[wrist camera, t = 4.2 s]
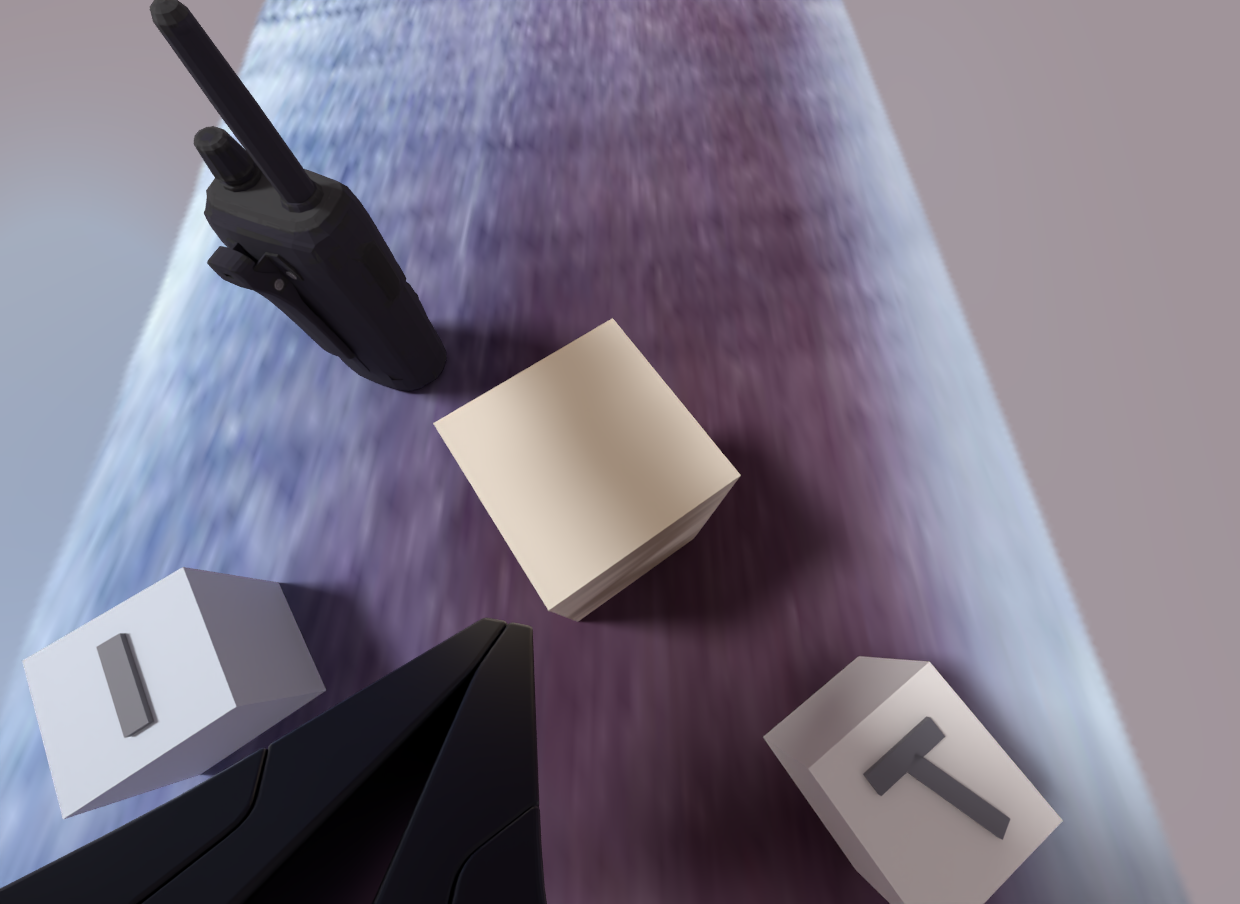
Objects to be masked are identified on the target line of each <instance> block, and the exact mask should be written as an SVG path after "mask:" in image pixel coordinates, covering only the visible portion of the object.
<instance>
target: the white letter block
mask: <svg viewBox="0 0 1240 904" xmlns="http://www.w3.org/2000/svg"><path fill="white" fill-rule="evenodd" d="M763 738H764V739H765V741H766V742H767V744H768V745H769V747H770V748H771V749H772V751H773V752H774V754H775V755H776V757H777V758H778V759H779V761H780V762H781V764H782V765H783V767H784V768H785V769H786V771H787V772H788V774H789V775H790V777H791V778H792V779H793V781H794V782H795V784H796V785H797V787H798V788H799V789H800V791H801V792H802V794H803V795H804V797H805V798H806V800H807V801H808V802H809V804H810V805H811V807H812V808H813V810H814V811H815V812H816V814H817V815H818V817H819V818H820V820H821V821H822V822H823V824H824V825H825V827H826V828H827V830H828V831H829V832H830V834H831V835H832V837H833V838H834V840H835V841H836V842H837V844H838V845H839V847H840V848H841V850H842V851H843V852H844V854H845V855H846V857H847V858H848V860H849V861H850V863H851V864H852V865H853V867H854V868H855V870H856V871H857V872H858V873H859V874H860V875H861V876H862V877H863V878H865V879H866V880H867V881H868V882H869V883H870V884H871V885H872V886H873V887H874V888H875V889H876V890H877V891H878V892H879V893H880V894H881V895H882V896H883V897H884V898H885V899H886V900H887V901H888V902H889V903H890V904H984V903H985V902H986V901H987V900H988V899H989V898H990V897H991V896H992V895H993V894H994V893H995V891H996V890H997V889H998V888H999V887H1000V886H1001V885H1002V884H1003V883H1004V882H1005V881H1006V880H1007V879H1008V878H1009V877H1010V876H1011V875H1012V874H1013V873H1014V872H1015V870H1016V869H1017V868H1018V867H1019V866H1020V865H1021V864H1022V863H1023V862H1024V861H1025V860H1026V859H1027V858H1028V857H1029V856H1030V855H1031V854H1032V853H1033V852H1034V851H1035V850H1036V848H1037V847H1038V846H1039V845H1040V844H1041V843H1042V842H1043V841H1044V840H1045V839H1046V838H1047V837H1048V836H1049V835H1050V834H1051V833H1052V832H1053V831H1054V830H1055V829H1056V827H1057V826H1058V825H1059V824H1060V823H1061V822H1062V821H1063V820H1062V819H1061V818H1060V817H1059V815H1058V814H1057V813H1056V812H1055V811H1054V809H1053V808H1052V807H1051V806H1050V805H1049V804H1048V802H1047V801H1046V800H1045V799H1044V798H1043V796H1042V795H1041V794H1040V793H1039V792H1038V790H1037V789H1036V788H1035V787H1034V786H1033V784H1032V783H1031V782H1030V781H1029V780H1028V779H1027V777H1026V776H1025V775H1024V774H1023V773H1022V771H1021V770H1020V769H1019V768H1018V767H1017V765H1016V764H1015V763H1014V762H1013V761H1012V759H1011V758H1010V757H1009V756H1008V755H1007V753H1006V752H1005V751H1004V750H1003V749H1002V748H1001V746H1000V745H999V744H998V743H997V742H996V740H995V739H994V738H993V737H992V736H991V734H990V733H989V732H988V731H987V730H986V728H985V727H984V726H983V725H982V724H981V722H980V721H979V720H978V719H977V718H976V717H975V715H974V714H973V713H972V712H971V711H970V709H969V708H968V707H967V706H966V705H965V703H964V702H963V701H962V700H961V699H960V697H959V696H958V695H957V694H956V693H955V692H954V690H953V689H952V688H951V687H950V686H949V684H948V683H947V682H946V681H945V680H944V678H943V677H942V676H941V675H940V674H939V672H938V671H937V670H936V669H935V668H934V666H933V665H932V664H931V663H930V662H927V661H914V660H901V659H888V658H875V657H862V656H858V657H857V658H856V659H855V660H854V661H852V662H851V663H850V664H849V665H848V666H846V667H845V668H844V669H843V670H842V671H841V672H839V673H838V674H837V675H836V676H835V677H833V678H832V679H831V680H830V681H829V682H827V683H826V684H825V685H824V686H823V687H822V688H820V689H819V690H818V691H817V692H816V693H814V694H813V695H812V696H811V697H810V698H809V699H807V700H806V701H805V702H804V703H803V704H801V705H800V706H799V707H798V708H797V709H796V710H794V711H793V712H792V713H791V714H790V715H788V716H787V717H786V718H785V719H784V720H783V721H781V722H780V723H779V724H778V725H777V726H775V727H774V728H773V729H772V730H771V731H769V732H768V733H767V734H766V735H765V736H764V737H763Z"/></svg>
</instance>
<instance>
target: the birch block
mask: <svg viewBox="0 0 1240 904" xmlns="http://www.w3.org/2000/svg"><path fill="white" fill-rule="evenodd" d="M433 424H434V425H435V427H436V429H437V430H438V432H439V433H440V435H441V437H442V438H443V440H444V442H445V443H446V445H447V446H448V448H449V450H450V451H451V453H452V455H453V456H454V458H455V459H456V461H457V463H458V464H459V466H460V468H461V469H462V471H463V472H464V474H465V476H466V477H467V479H468V481H469V482H470V484H471V485H472V487H473V489H474V490H475V492H476V494H477V495H478V497H479V498H480V500H481V502H482V503H483V505H484V506H485V508H486V510H487V511H488V513H489V515H490V516H491V518H492V519H493V521H494V523H495V524H496V526H497V528H498V529H499V531H500V532H501V534H502V536H503V537H504V539H505V541H506V542H507V544H508V545H509V547H510V549H511V550H512V552H513V554H514V555H515V557H516V558H517V560H518V562H519V563H520V565H521V567H522V568H523V570H524V571H525V573H526V575H527V576H528V578H529V580H530V581H531V583H532V584H533V586H534V588H535V589H536V591H537V593H538V594H539V596H540V597H541V599H542V601H543V602H544V604H545V606H546V607H547V609H548V610H549V611H551V612H554V613H556V614H559V615H562V616H564V617H567V618H570V619H572V620H575V621H580V620H581V619H582V618H584V617H585V616H587V615H588V614H589V613H591V612H592V611H594V610H595V609H596V608H598V607H599V606H601V605H602V604H603V603H605V602H606V601H608V600H609V599H610V598H612V597H613V596H614V595H616V594H617V593H619V592H620V591H621V590H623V589H624V588H626V587H627V586H628V585H630V584H631V583H633V582H634V581H635V580H637V579H638V578H640V577H641V576H642V575H644V574H645V573H647V572H648V571H649V570H651V569H652V568H653V567H655V566H656V565H658V564H659V563H660V562H662V561H663V560H665V559H666V558H667V557H669V556H670V555H672V554H673V553H674V552H676V551H677V550H679V549H680V548H681V547H683V546H684V545H685V544H687V543H688V542H690V541H691V540H692V539H694V538H695V536H696V535H697V534H698V532H699V531H700V530H701V528H702V527H703V526H704V524H705V523H706V522H707V520H708V519H709V518H710V516H711V515H712V514H713V512H714V511H715V509H716V508H717V507H718V505H719V504H720V503H721V501H722V500H723V499H724V497H725V496H726V495H727V493H728V492H729V491H730V489H731V488H732V487H733V485H734V484H735V482H736V481H737V480H738V478H739V477H740V476H741V475H740V474H739V473H738V471H737V470H736V469H735V468H734V466H733V465H732V464H731V463H730V462H729V460H728V459H727V458H726V457H725V455H724V454H723V453H722V452H721V451H720V449H719V448H718V447H717V446H716V444H715V443H714V442H713V441H712V439H711V438H710V437H709V436H708V435H707V433H706V432H705V431H704V430H703V428H702V427H701V426H700V425H699V424H698V422H697V421H696V420H695V419H694V417H693V416H692V415H691V414H690V413H689V411H688V410H687V409H686V408H685V406H684V405H683V404H682V403H681V402H680V400H679V399H678V398H677V397H676V395H675V394H674V393H673V392H672V390H671V389H670V388H669V387H668V386H667V384H666V383H665V382H664V381H663V379H662V378H661V377H660V376H659V375H658V373H657V372H656V371H655V370H654V368H653V367H652V366H651V365H650V364H649V362H648V361H647V360H646V359H645V357H644V356H643V355H642V354H641V352H640V351H639V350H638V349H637V348H636V346H635V345H634V344H633V343H632V341H631V340H630V339H629V338H628V337H627V335H626V334H625V333H624V332H623V330H622V329H621V328H620V327H619V326H618V324H617V323H616V322H615V321H614V319H613V318H612V319H611V320H609V321H607V322H606V323H604V324H602V325H600V326H599V327H597V328H595V329H594V330H592V331H590V332H588V333H587V334H585V335H583V336H582V337H580V338H578V339H576V340H575V341H573V342H571V343H570V344H568V345H566V346H565V347H563V348H561V349H559V350H558V351H556V352H554V353H553V354H551V355H549V356H547V357H546V358H544V359H542V360H541V361H539V362H537V363H536V364H534V365H532V366H530V367H529V368H527V369H525V370H524V371H522V372H520V373H518V374H517V375H515V376H513V377H512V378H510V379H508V380H507V381H505V382H503V383H501V384H500V385H498V386H496V387H495V388H493V389H491V390H489V391H488V392H486V393H484V394H483V395H481V396H479V397H477V398H476V399H474V400H472V401H471V402H469V403H467V404H466V405H464V406H462V407H460V408H459V409H457V410H455V411H454V412H452V413H450V414H448V415H447V416H445V417H443V418H442V419H440V420H438V421H437V422H435V423H433Z"/></svg>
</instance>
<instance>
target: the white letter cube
mask: <svg viewBox="0 0 1240 904" xmlns="http://www.w3.org/2000/svg"><path fill="white" fill-rule="evenodd" d="M22 662H23V665H24V669H25V673H26V677H27V681H28V685H29V689H30V693H31V697H32V700H33V704H34V708H35V712H36V716H37V720H38V724H39V728H40V732H41V736H42V739H43V743H44V747H45V751H46V755H47V759H48V763H49V767H50V771H51V774H52V778H53V782H54V786H55V790H56V794H57V798H58V802H59V806H60V809H61V813H62V817H63V819H66V818H69V817H72V816H75V815H78V814H81V813H84V812H87V811H90V810H93V809H96V808H99V807H102V806H105V805H109V804H112V803H115V802H118V801H121V800H124V799H127V798H130V797H133V796H136V795H139V794H142V793H145V792H148V791H151V790H155V789H158V788H161V787H164V786H167V785H170V784H173V783H176V782H179V781H182V780H185V779H188V778H191V777H194V776H197V775H200V774H202V773H203V772H205V771H206V770H208V769H209V768H211V767H212V766H214V765H215V764H217V763H218V762H220V761H221V760H223V759H224V758H226V757H227V756H229V755H230V754H232V753H233V752H235V751H236V750H238V749H239V748H241V747H242V746H244V745H245V744H247V743H248V742H250V741H251V740H253V739H254V738H256V737H257V736H259V735H260V734H262V733H263V732H265V731H266V730H268V729H269V728H271V727H272V726H274V725H275V724H277V723H278V722H280V721H281V720H283V719H284V718H286V717H287V716H289V715H290V714H292V713H293V712H295V711H296V710H298V709H299V708H301V707H302V706H304V705H305V704H307V703H308V702H310V701H311V700H313V699H314V698H316V697H317V696H319V695H320V694H322V693H323V692H325V691H326V689H325V686H324V684H323V682H322V680H321V677H320V675H319V673H318V671H317V668H316V666H315V664H314V661H313V659H312V657H311V655H310V652H309V650H308V648H307V646H306V643H305V641H304V639H303V637H302V634H301V632H300V630H299V628H298V625H297V623H296V621H295V619H294V616H293V614H292V612H291V609H290V607H289V605H288V603H287V600H286V598H285V596H284V594H283V591H282V589H281V587H280V585H279V583H278V582H272V581H266V580H260V579H253V578H247V577H241V576H235V575H229V574H223V573H216V572H210V571H204V570H198V569H192V568H185V567H183V568H181V569H179V570H177V571H176V572H174V573H172V574H171V575H169V576H167V577H165V578H164V579H162V580H160V581H158V582H157V583H155V584H153V585H152V586H150V587H148V588H146V589H145V590H143V591H141V592H140V593H138V594H136V595H134V596H133V597H131V598H129V599H128V600H126V601H124V602H122V603H121V604H119V605H117V606H115V607H114V608H112V609H110V610H109V611H107V612H105V613H103V614H102V615H100V616H98V617H97V618H95V619H93V620H91V621H90V622H88V623H86V624H85V625H83V626H81V627H79V628H78V629H76V630H74V631H73V632H71V633H69V634H67V635H66V636H64V637H62V638H60V639H59V640H57V641H55V642H54V643H52V644H50V645H48V646H47V647H45V648H43V649H42V650H40V651H38V652H36V653H35V654H33V655H31V656H30V657H28V658H26V659H24V660H23V661H22Z"/></svg>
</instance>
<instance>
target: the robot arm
mask: <svg viewBox="0 0 1240 904" xmlns="http://www.w3.org/2000/svg"><path fill="white" fill-rule="evenodd" d="M0 904H547V901H546V894H545V886H544V873H543V859H542V846H541V826H540V809H539V784H538V758H537V731H536V705H535V679H534V652H533V630H532V627H530V626H528V625H522V624H517V623H509V624H507V623H506V622H505V621H502V620H496V619H491V618H483V619H481V620H479V621H477V622H476V623H474V624H472V625H470V626H469V627H467V628H465V629H464V630H462V631H460V632H459V633H457V634H455V635H454V636H452V637H450V638H448V639H447V640H445V641H443V642H442V643H440V644H438V645H437V646H435V647H433V648H432V649H430V650H428V651H427V652H425V653H423V654H421V655H420V656H418V657H416V658H415V659H413V660H411V661H410V662H408V663H406V664H405V665H403V666H401V667H400V668H398V669H396V670H394V671H393V672H391V673H389V674H388V675H386V676H384V677H383V678H381V679H379V680H378V681H376V682H374V683H372V684H371V685H369V686H367V687H366V688H364V689H362V690H361V691H359V692H357V693H356V694H354V695H352V696H351V697H349V698H347V699H345V700H344V701H342V702H340V703H339V704H337V705H335V706H334V707H332V708H330V709H329V710H327V711H325V712H323V713H322V714H320V715H318V716H317V717H315V718H313V719H312V720H310V721H308V722H307V723H305V724H303V725H302V726H300V727H298V728H296V729H295V730H293V731H291V732H290V733H288V734H286V735H285V736H283V737H281V738H280V739H278V740H276V741H274V742H273V743H271V744H270V745H269V747H268V750H267V749H266V748H261V749H259V750H257V751H256V752H254V753H252V754H251V755H249V756H247V757H246V758H244V759H242V760H241V761H239V762H237V763H235V764H234V765H232V766H230V767H229V768H227V769H225V770H223V771H222V772H220V773H218V774H216V775H215V776H213V777H211V778H209V779H207V780H206V781H204V782H202V783H200V784H199V785H197V786H195V787H193V788H192V789H190V790H188V791H186V792H185V793H183V794H181V795H179V796H178V797H176V798H174V799H172V800H170V801H168V802H166V803H165V804H163V805H161V806H159V807H157V808H155V809H153V810H151V811H149V812H148V813H146V814H144V815H142V816H140V817H138V818H136V819H134V820H132V821H131V822H129V823H127V824H125V825H123V826H121V827H119V828H117V829H115V830H114V831H112V832H110V833H108V834H106V835H104V836H102V837H100V838H98V839H96V840H94V841H92V842H90V843H88V844H86V845H85V846H83V847H81V848H79V849H77V850H75V851H73V852H71V853H69V854H67V855H65V856H63V857H61V858H59V859H57V860H55V861H53V862H51V863H49V864H47V865H45V866H43V867H42V868H40V869H38V870H36V871H34V872H32V873H30V874H28V875H26V876H24V877H22V878H20V879H18V880H16V881H14V882H12V883H10V884H8V885H6V886H4V887H2V888H0Z"/></svg>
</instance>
